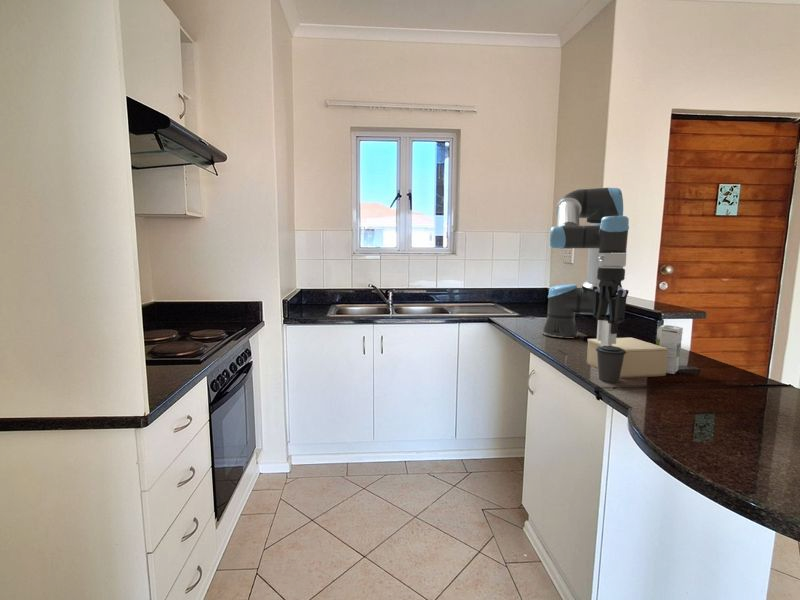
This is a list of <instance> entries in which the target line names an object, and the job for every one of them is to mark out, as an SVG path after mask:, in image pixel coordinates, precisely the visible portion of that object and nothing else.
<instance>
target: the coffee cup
mask: <svg viewBox="0 0 800 600" xmlns="http://www.w3.org/2000/svg"><path fill="white" fill-rule="evenodd" d="M595 350H596V351H597V357H598V368H597V369H598V370H597V371H598V372H597V373H598V379H599V380H600V381H601V382H606V383H611V384H613V383H619V381H620V379H621V378H620V373H621V368H622V363H623V358H624V354H626V352H625V350H624V349H621V348H618V347H615V346H601V347H597V348H596V349H595Z"/></svg>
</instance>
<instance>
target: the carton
mask: <svg viewBox="0 0 800 600" xmlns="http://www.w3.org/2000/svg"><path fill="white" fill-rule="evenodd" d="M597 347H600V345H598V344H595V343H592V342H590V341H588V340H587V352H586V353H587V354H586V364H587V365H588V366H592V367H593V368H595V369H598V357H597V351H596V350H595V349H596V348H597ZM667 354H668V350H655V351H631V352H626V354H624V358H623V363H622V368H621V373H620V378H619V379H627V378H629V379H630V378H645V377H646V378H648V377H651V378H652V377H665V376H666V375H667V373H666V366H667Z"/></svg>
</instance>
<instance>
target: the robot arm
mask: <svg viewBox="0 0 800 600" xmlns="http://www.w3.org/2000/svg"><path fill="white" fill-rule="evenodd" d="M555 214H556V216H557V223H556V224H557V225H555V226H552V227H551V228H550V236H549V246H550V248H553V249H559V250H560V249H561V250H563V249H588V254H587V266H586V270H587V271H586V280H585V281H584V282H583V283H582V284H581V285H582V286H581V287H578V286H577V284H574V283H573V284H570V283H569V284H561V285H560V284H559V285H558V284H557V285H552V286H551V287H550V288H549V289H548V295H547V299H548V302H547V316H546V320H545V323H544V325H543V328H542V333H543V332H545V333H548V334H551V335H556V336H563V337H577V336H578V337H579V330H578V326H577V323H576V320H575V318H576V314H577V315H578V314H579V315H592V317H594V318H595V319H596V339H597V341H601V329H602V320H606V321H608V327H607V341H606V344H616V338H617V335H618V333H619V332H618V330H619V329H618V328H619V324H620V323H624V322H625V316H626V315H625V314H626V306H627V299H628V298H627V297H628V294H629V290H628V289H624V288H623V287H622V281H624V280H625V276H626V269H625V268H624V267H626V265H627V248H628V246H627V245H628V235H629V230H630V226H629V223H630V222H629V219H630V218H629V217H628V216H625V215H624V199H623V193H622V190H621V188H618V187H598V188H585V189H584V188H582V189H581V188H580V189H576V190H572V191H570V192H568V193H566V194H565V195H563V196H562V197H561V198H560V199H559V200H558V201H557V203H556V206H555ZM580 219H586V223H587V224H588V225H580ZM607 315H608V316H609V320H608V317H607ZM578 337H577V338H578Z"/></svg>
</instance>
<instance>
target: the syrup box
mask: <svg viewBox="0 0 800 600" xmlns="http://www.w3.org/2000/svg"><path fill="white" fill-rule="evenodd" d="M683 330H684V328H683V327H681V326H676V325H671V324H670V325H669V324H668V325H667V324H662V325H660V326H658V327H657V332H656V341H655V342H656V344H655V345H658V346H662V347H665V348H667V350H668V354H667V366H666V374H670V375H671V374H673V375H675V374H676V373H678V371H679V367H680V357H681V348H682V347H681V346H682V340H683Z"/></svg>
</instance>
